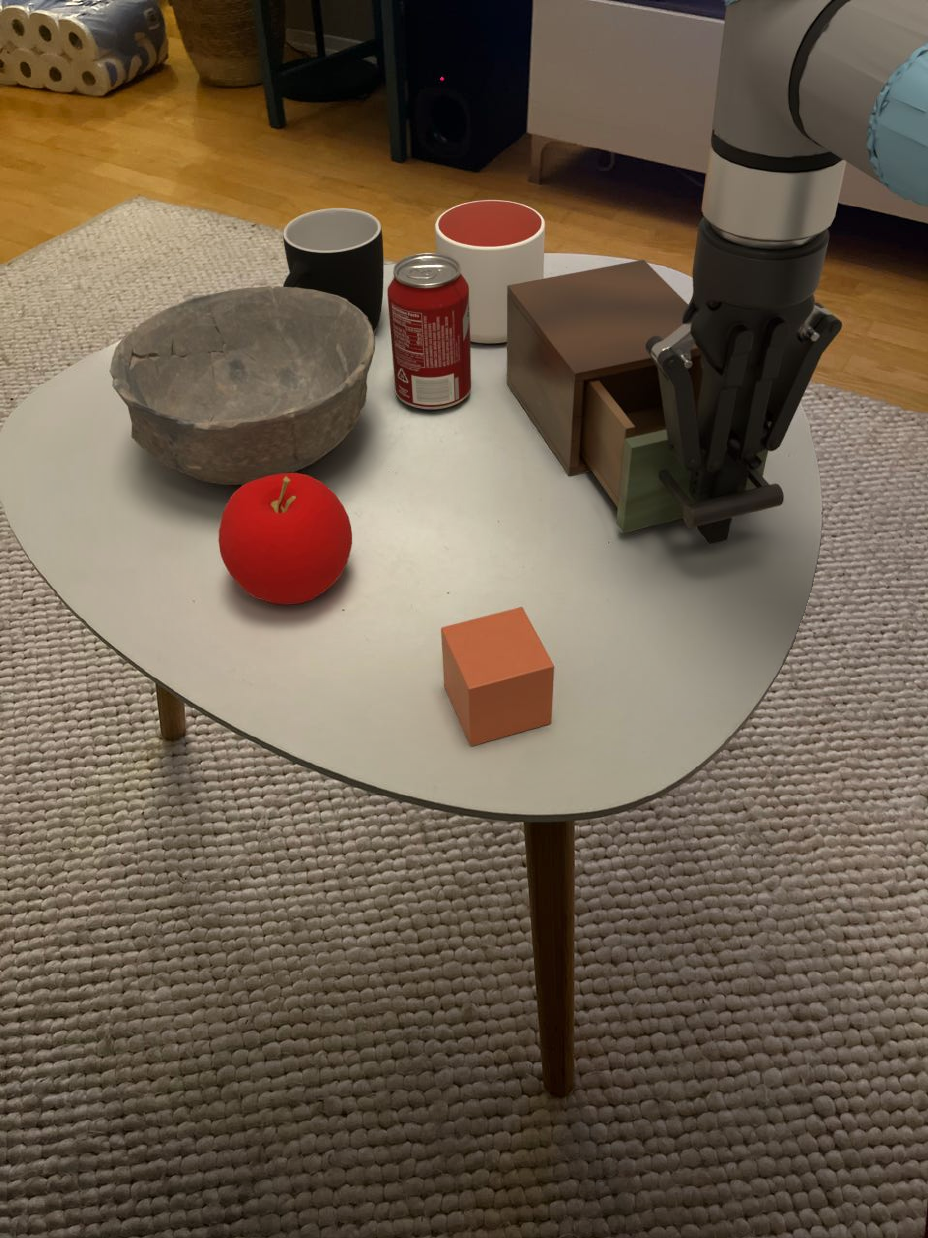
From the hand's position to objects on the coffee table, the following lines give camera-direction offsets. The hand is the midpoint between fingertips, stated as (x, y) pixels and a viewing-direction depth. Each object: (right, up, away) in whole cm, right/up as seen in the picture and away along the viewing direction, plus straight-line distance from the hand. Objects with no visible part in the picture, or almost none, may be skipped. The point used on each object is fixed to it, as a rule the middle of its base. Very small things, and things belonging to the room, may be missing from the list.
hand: (709, 530), depth 79 cm
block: (-16, -12, -9) cm, 22 cm away
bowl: (-35, +8, +11) cm, 38 cm away
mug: (-31, +21, +24) cm, 44 cm away
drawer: (-2, +4, +5) cm, 7 cm away
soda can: (-21, +13, +17) cm, 30 cm away
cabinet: (-6, +11, +14) cm, 19 cm away
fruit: (-31, -4, 0) cm, 31 cm away
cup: (-16, +22, +25) cm, 37 cm away
